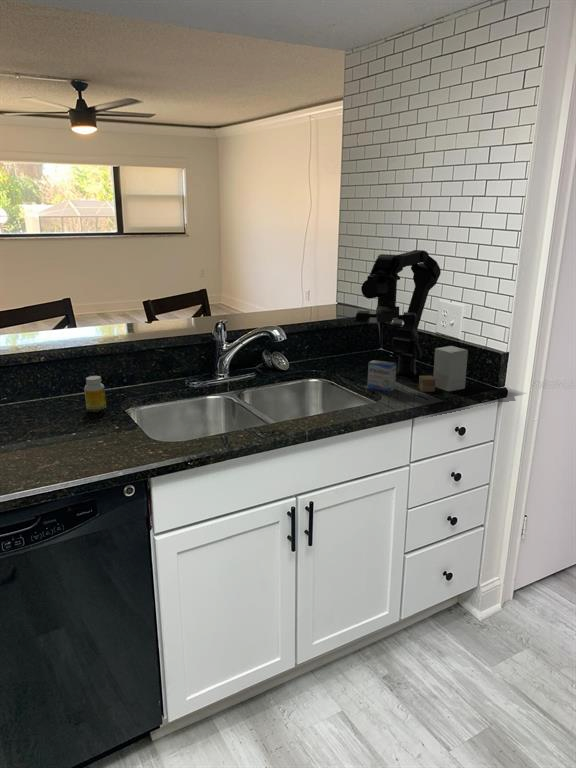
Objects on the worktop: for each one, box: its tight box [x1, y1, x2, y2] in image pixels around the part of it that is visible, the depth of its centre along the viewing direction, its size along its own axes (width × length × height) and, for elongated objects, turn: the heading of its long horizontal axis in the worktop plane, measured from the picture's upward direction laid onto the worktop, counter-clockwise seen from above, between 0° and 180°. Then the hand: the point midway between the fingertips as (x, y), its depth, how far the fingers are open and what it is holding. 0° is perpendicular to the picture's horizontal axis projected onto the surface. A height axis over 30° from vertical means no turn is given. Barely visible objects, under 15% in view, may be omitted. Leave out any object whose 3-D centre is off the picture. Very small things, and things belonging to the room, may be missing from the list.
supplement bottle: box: [83, 375, 107, 411], centre depth 159 cm, size 5×5×10 cm
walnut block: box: [418, 375, 436, 393], centre depth 178 cm, size 4×4×4 cm
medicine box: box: [367, 359, 397, 393], centre depth 178 cm, size 8×4×9 cm, turn 62°
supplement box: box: [432, 345, 469, 392], centre depth 179 cm, size 7×7×13 cm
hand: (384, 343), depth 182 cm, fingers open, 3 cm apart
